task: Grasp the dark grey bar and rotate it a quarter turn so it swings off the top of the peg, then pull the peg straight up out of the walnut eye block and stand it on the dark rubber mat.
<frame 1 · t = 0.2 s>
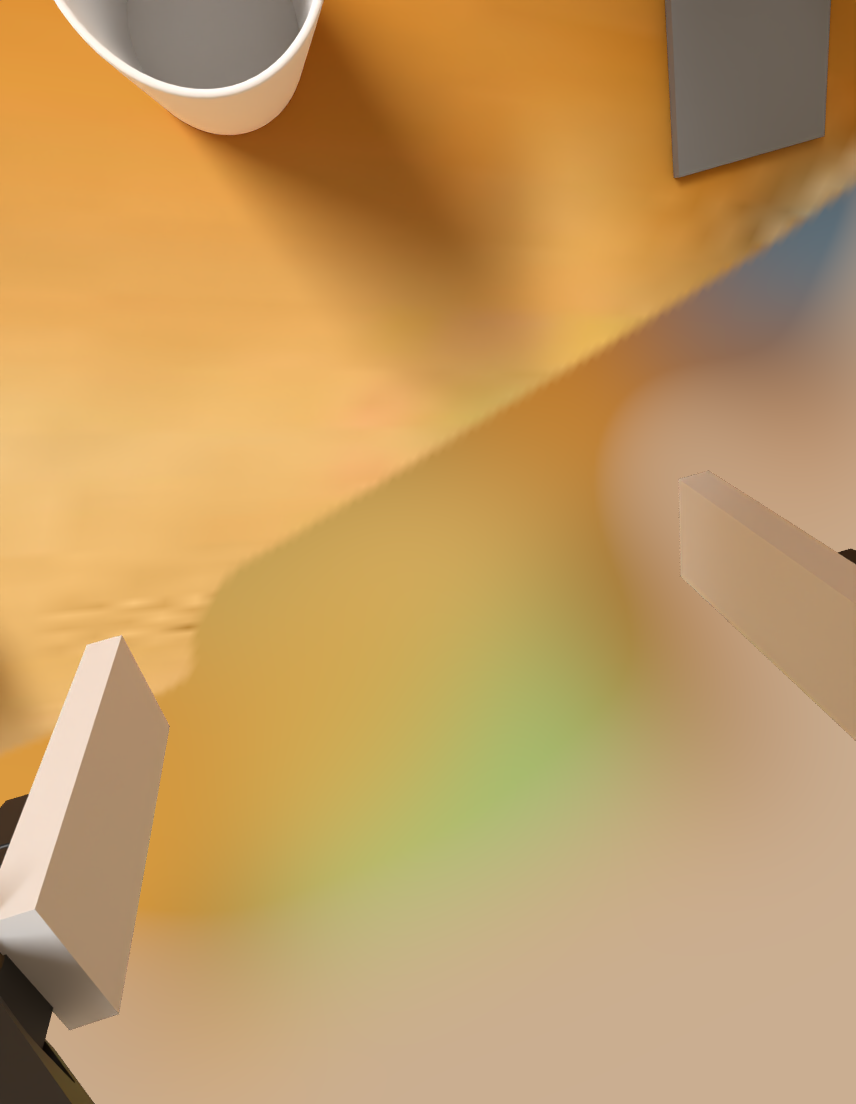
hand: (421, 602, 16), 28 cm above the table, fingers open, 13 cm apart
cup: (216, 34, 33), on the table
mat: (745, 64, 38), on the table
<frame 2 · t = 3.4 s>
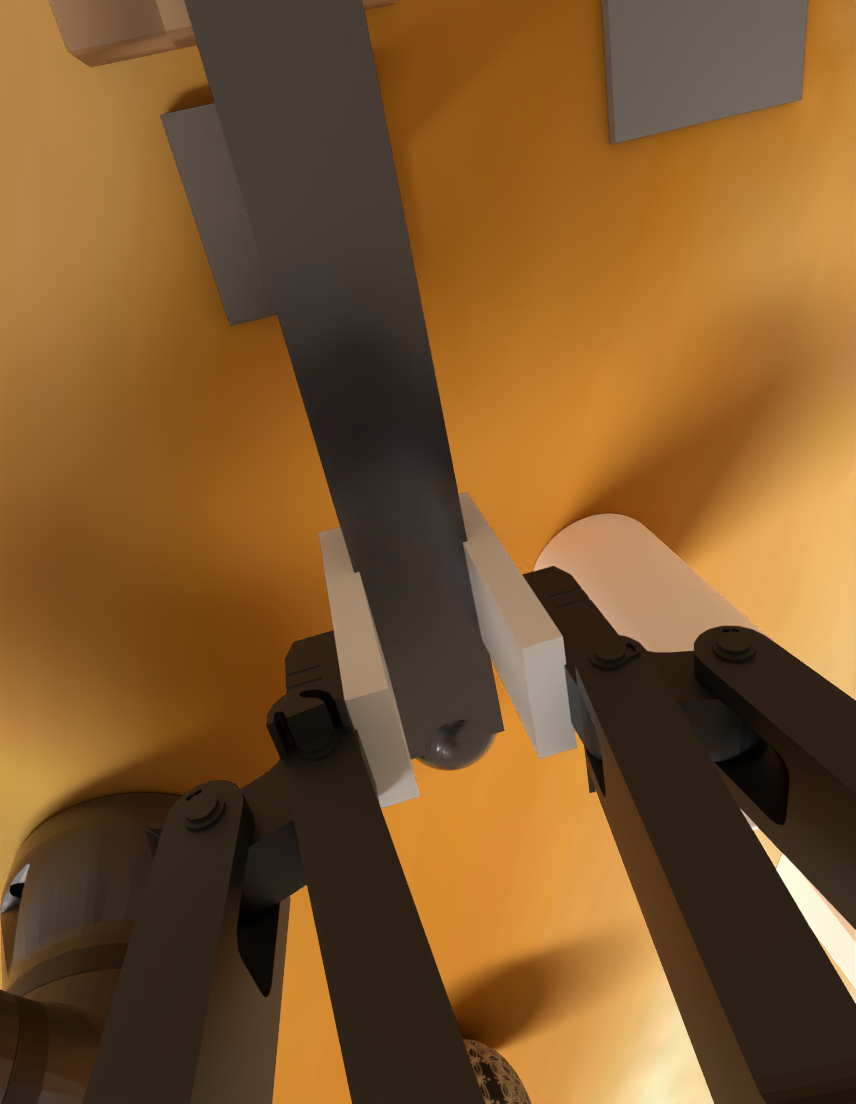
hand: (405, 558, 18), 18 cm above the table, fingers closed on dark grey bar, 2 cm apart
toilet paper: (824, 851, 62), on the table
decorative egg: (447, 1044, 63), on the table
cup: (593, 573, 42), on the table
handle post: (291, 205, 30), on the table
dark grey bar: (325, 228, 13), point 19 cm above the table, hinge at 0.0°, touching gripper
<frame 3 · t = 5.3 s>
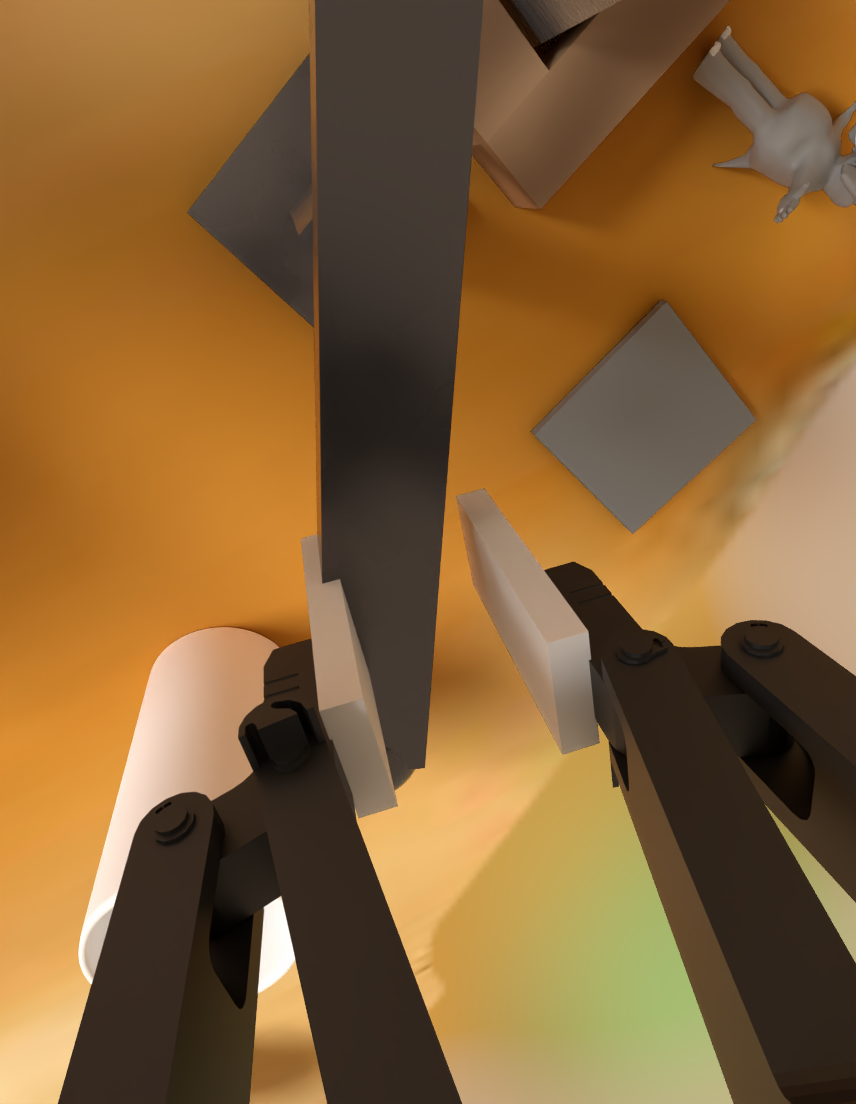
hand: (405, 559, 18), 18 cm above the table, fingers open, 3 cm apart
cup: (224, 683, 40), on the table
handle post: (325, 209, 30), on the table
mat: (643, 423, 37), on the table
dark grey bar: (381, 239, 14), point 19 cm above the table, hinge at 41.2°, touching gripper
elephant figurine: (740, 146, 32), on the table
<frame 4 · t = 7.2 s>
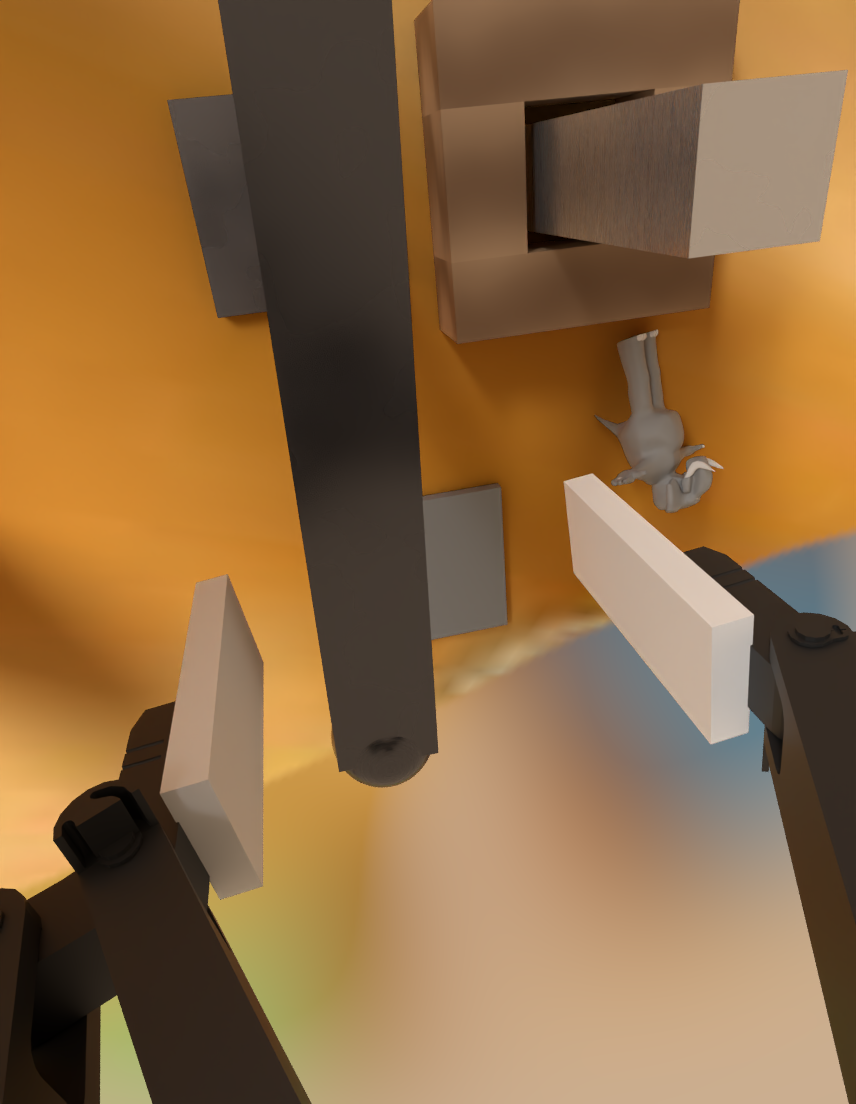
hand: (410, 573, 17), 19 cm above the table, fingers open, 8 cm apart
peg: (634, 172, 25), in the eye block
handle post: (291, 204, 30), on the table
mat: (425, 569, 39), on the table
dark grey bar: (325, 227, 13), point 19 cm above the table, hinge at 87.6°
elephant figurine: (618, 416, 38), on the table
eye block: (557, 175, 31), on the table
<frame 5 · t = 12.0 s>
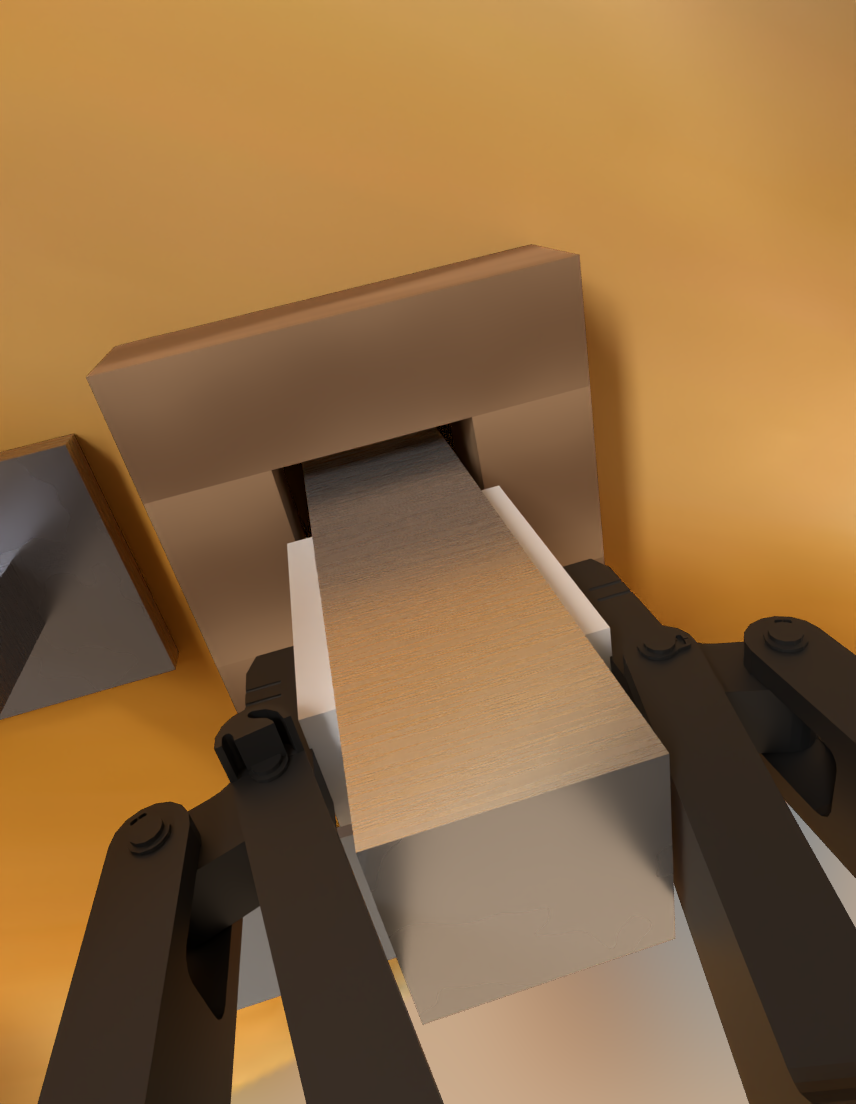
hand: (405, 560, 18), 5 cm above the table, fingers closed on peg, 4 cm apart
peg: (424, 608, 16), in the eye block, touching gripper
handle post: (1, 587, 21), on the table
mat: (303, 911, 31), on the table
eye block: (377, 485, 22), on the table
when the fingers open (7 cm above the table, at t = 20.1 s): peg drops 1 cm, resting on mat.
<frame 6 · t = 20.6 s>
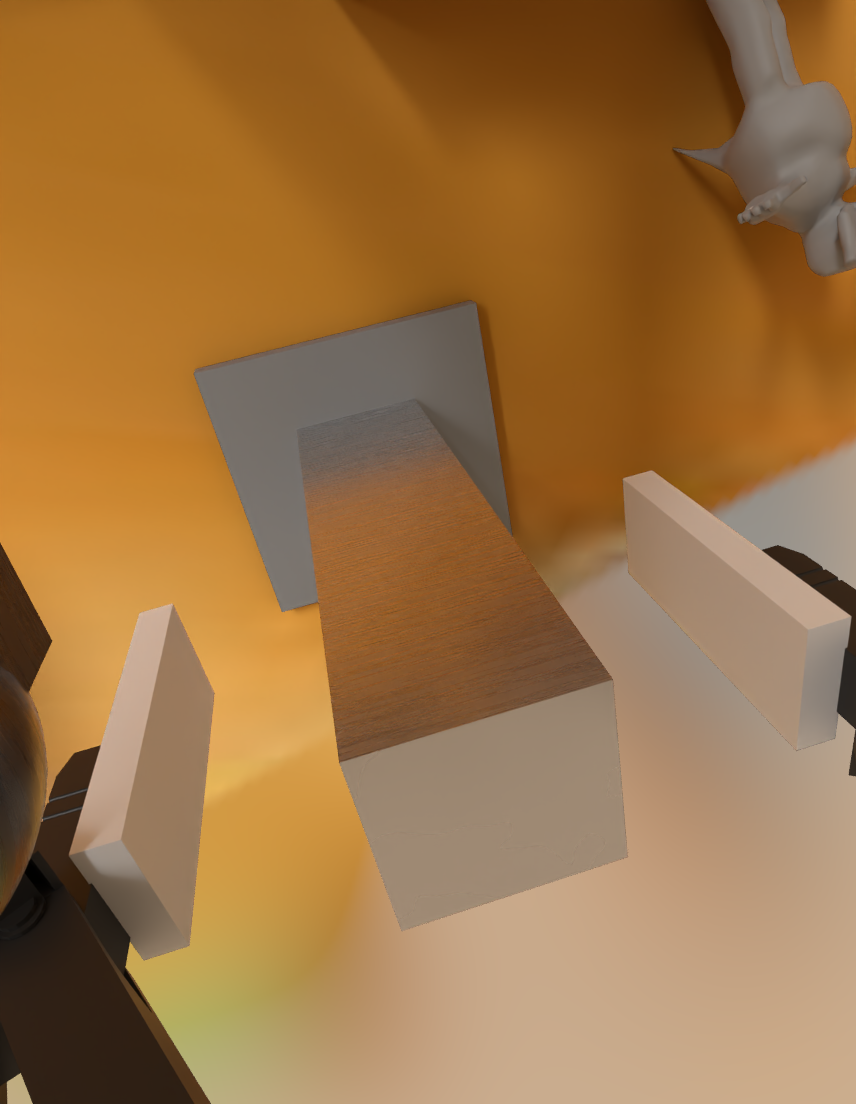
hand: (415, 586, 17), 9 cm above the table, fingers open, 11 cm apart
peg: (410, 576, 17), on the mat, point 8 cm above the table
mat: (369, 463, 24), on the table
elephant figurine: (714, 147, 22), on the table
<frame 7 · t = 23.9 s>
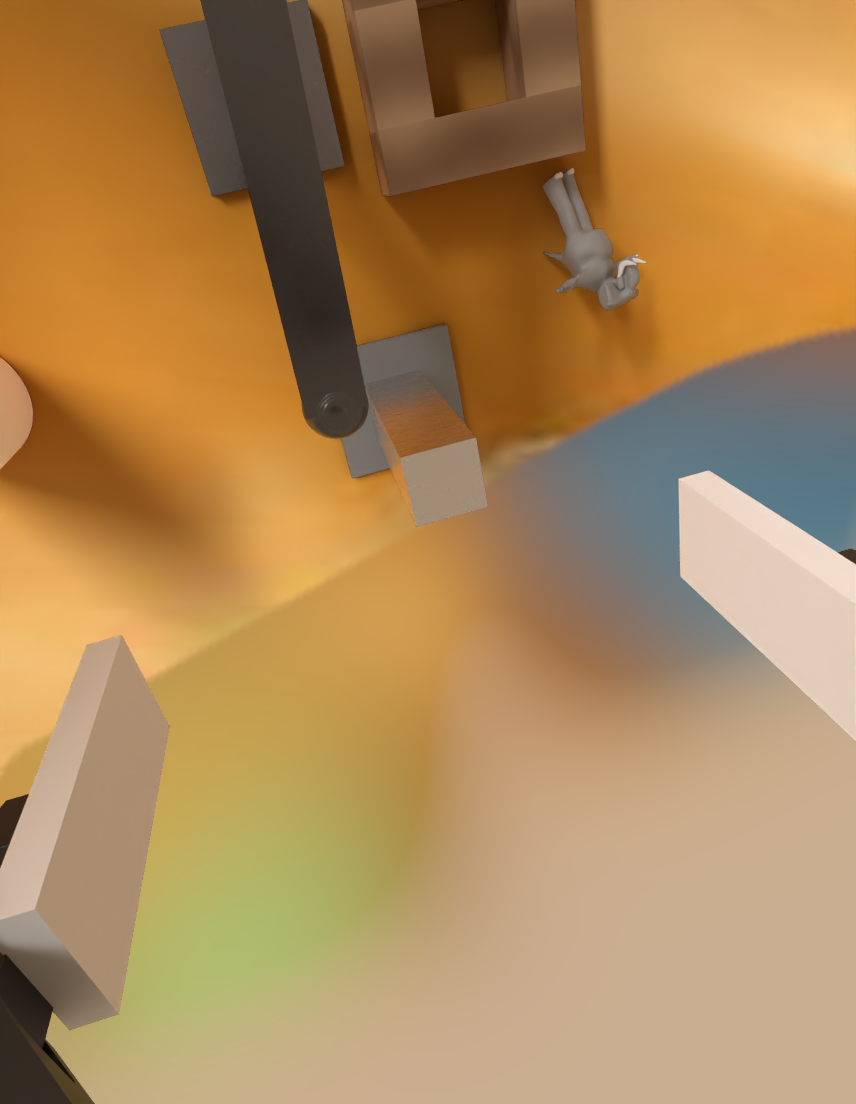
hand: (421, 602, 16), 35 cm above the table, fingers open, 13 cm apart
peg: (417, 437, 42), on the mat, point 8 cm above the table
handle post: (257, 103, 40), on the table
mat: (396, 402, 49), on the table
dark grey bar: (252, 46, 23), point 19 cm above the table, hinge at 87.6°
elephant figurine: (563, 249, 47), on the table
eye block: (457, 59, 41), on the table
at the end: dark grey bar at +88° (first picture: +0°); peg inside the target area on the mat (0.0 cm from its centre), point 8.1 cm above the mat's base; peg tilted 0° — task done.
